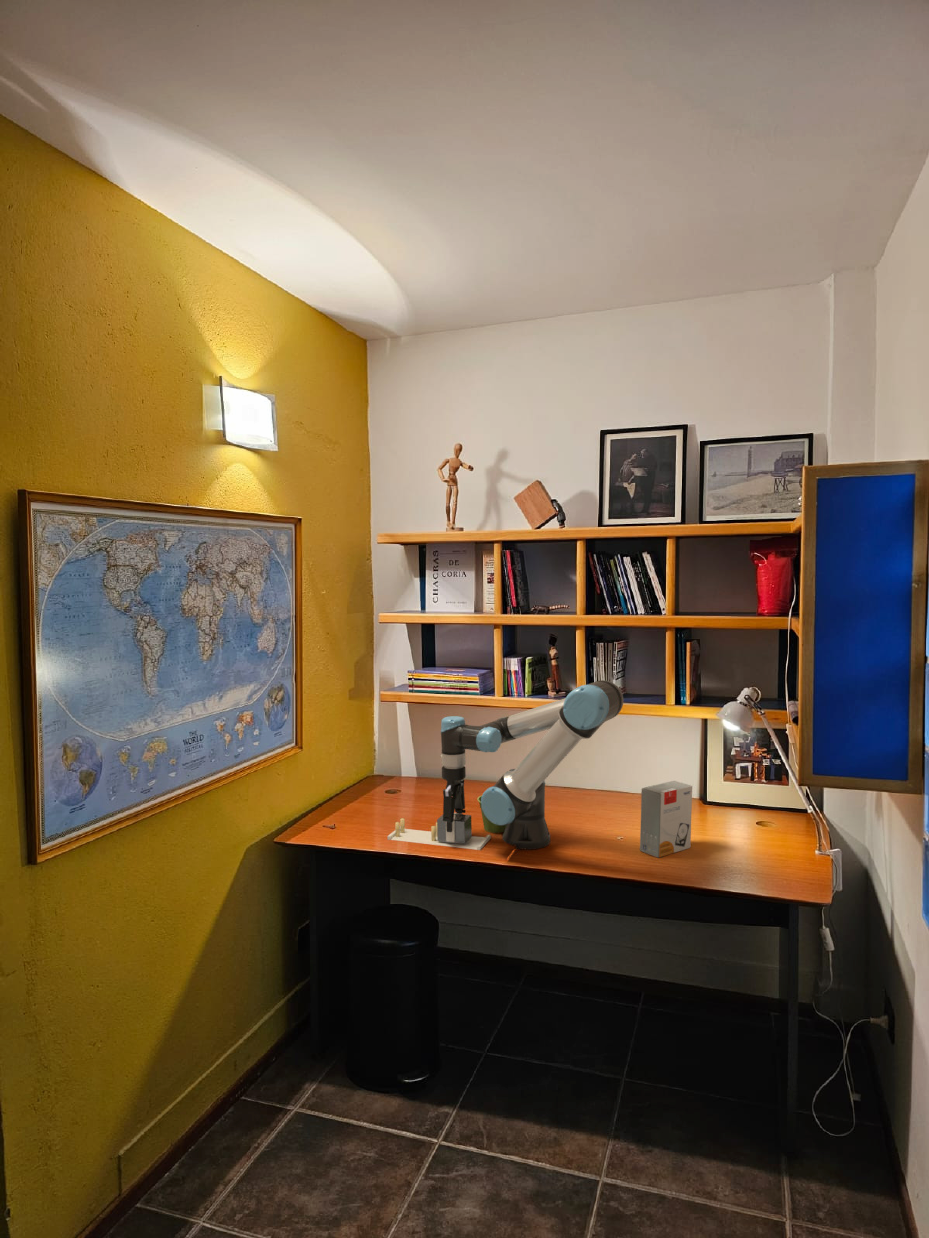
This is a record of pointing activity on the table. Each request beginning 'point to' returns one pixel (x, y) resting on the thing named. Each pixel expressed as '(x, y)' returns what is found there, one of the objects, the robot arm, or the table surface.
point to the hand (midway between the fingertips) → (454, 837)
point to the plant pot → (488, 824)
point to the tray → (432, 837)
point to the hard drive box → (665, 818)
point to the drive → (456, 828)
